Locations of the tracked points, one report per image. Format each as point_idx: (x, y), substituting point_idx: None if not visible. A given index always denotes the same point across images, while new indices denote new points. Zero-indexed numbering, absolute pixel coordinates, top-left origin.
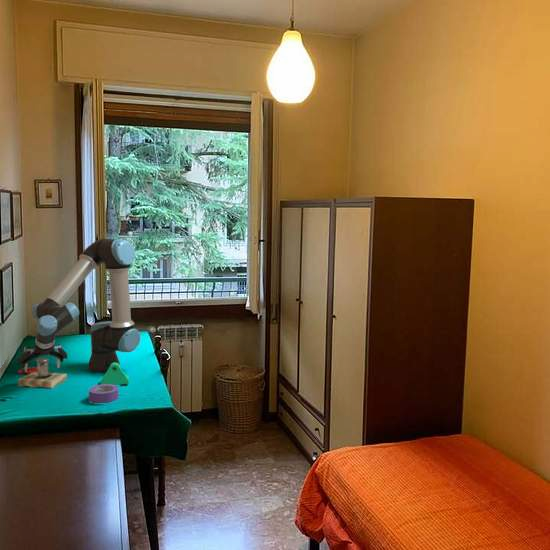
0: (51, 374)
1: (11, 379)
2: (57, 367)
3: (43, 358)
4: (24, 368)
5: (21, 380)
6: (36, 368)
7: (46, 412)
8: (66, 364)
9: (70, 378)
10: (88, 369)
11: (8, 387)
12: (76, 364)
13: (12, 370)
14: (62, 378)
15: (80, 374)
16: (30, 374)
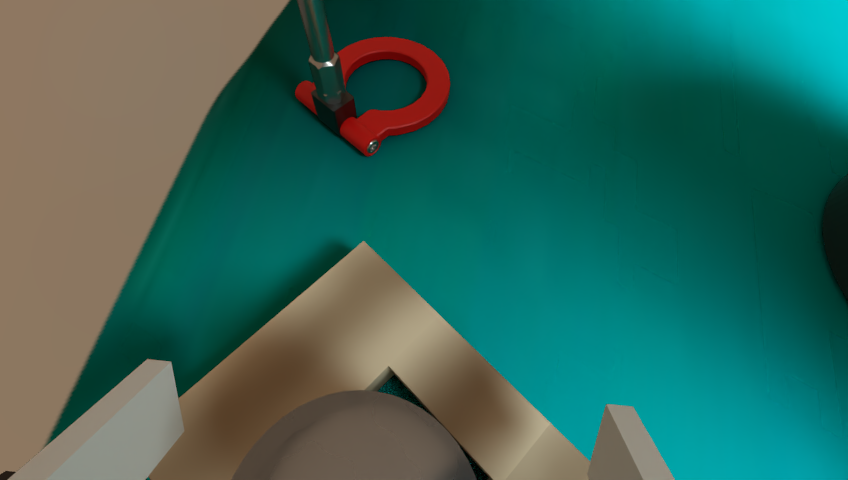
0: (490, 441)
1: (211, 206)
2: (590, 471)
3: (389, 453)
4: (323, 99)
5: (152, 471)
6: (429, 71)
7: None
8: (637, 57)
9: (665, 458)
10: (832, 266)
11: None
12: (710, 85)
13: (295, 29)
14: None
15: (762, 367)
16: (299, 311)
